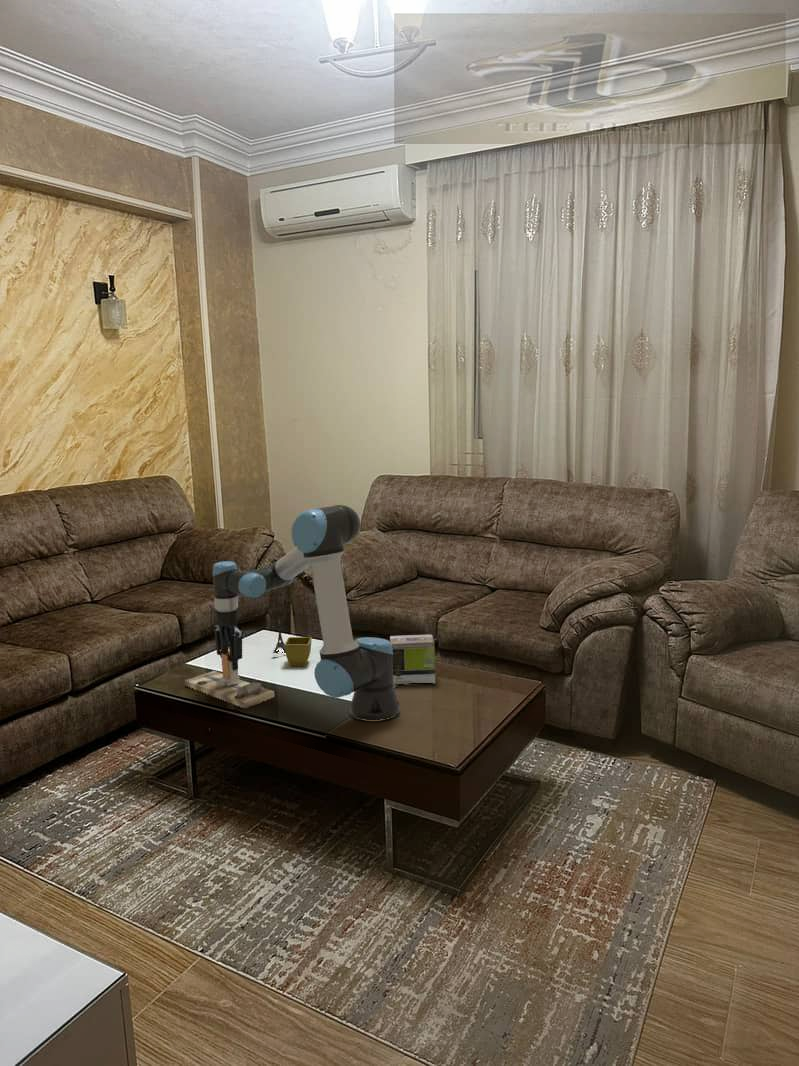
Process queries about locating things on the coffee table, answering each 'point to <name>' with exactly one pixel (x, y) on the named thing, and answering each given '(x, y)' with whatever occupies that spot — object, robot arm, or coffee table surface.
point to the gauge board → (230, 690)
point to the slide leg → (226, 672)
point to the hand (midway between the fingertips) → (230, 677)
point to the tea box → (413, 659)
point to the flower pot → (298, 650)
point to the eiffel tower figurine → (280, 645)
